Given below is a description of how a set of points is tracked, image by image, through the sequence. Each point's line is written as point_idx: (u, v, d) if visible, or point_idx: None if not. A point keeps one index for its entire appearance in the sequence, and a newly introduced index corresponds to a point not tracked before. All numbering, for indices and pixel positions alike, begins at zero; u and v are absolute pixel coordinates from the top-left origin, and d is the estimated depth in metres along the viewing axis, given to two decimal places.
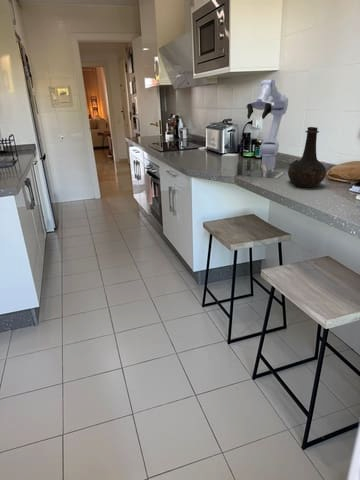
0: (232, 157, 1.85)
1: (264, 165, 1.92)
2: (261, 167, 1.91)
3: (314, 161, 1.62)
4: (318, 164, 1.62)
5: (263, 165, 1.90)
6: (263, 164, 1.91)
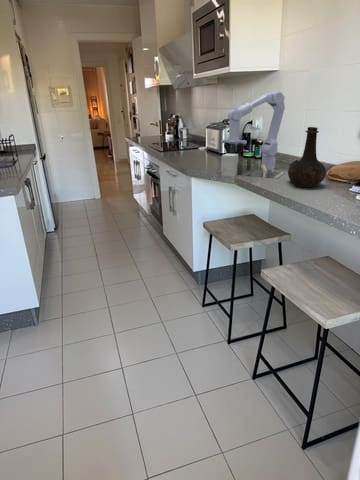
0: (232, 157, 1.85)
1: (264, 165, 1.92)
2: (261, 167, 1.91)
3: (314, 161, 1.62)
4: (318, 164, 1.62)
5: (263, 165, 1.90)
6: (263, 164, 1.91)
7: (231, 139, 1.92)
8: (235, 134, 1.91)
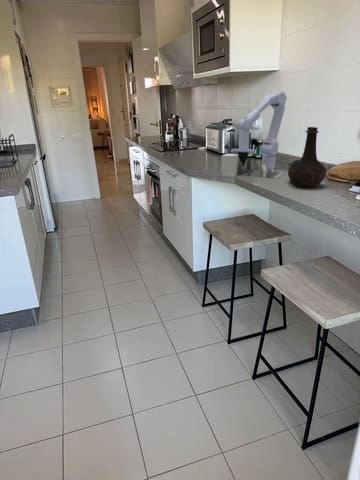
0: (232, 157, 1.85)
1: (264, 165, 1.92)
2: (261, 167, 1.91)
3: (314, 161, 1.62)
4: (318, 164, 1.62)
5: (263, 165, 1.90)
6: (263, 164, 1.91)
7: (241, 148, 1.91)
8: (245, 143, 1.90)
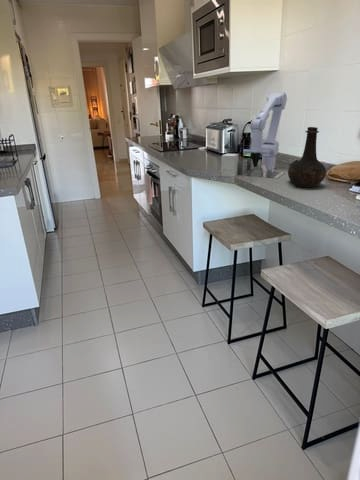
0: (232, 157, 1.85)
1: (264, 165, 1.92)
2: (261, 167, 1.91)
3: (314, 161, 1.62)
4: (318, 164, 1.62)
5: (263, 165, 1.90)
6: (263, 164, 1.91)
7: (253, 149, 1.88)
8: (258, 144, 1.86)
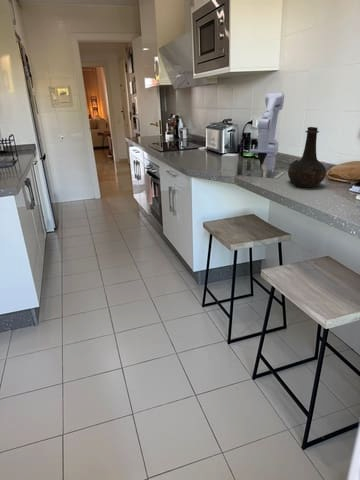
0: (232, 157, 1.85)
1: (265, 165, 1.91)
2: (262, 167, 1.90)
3: (314, 161, 1.62)
4: (318, 164, 1.62)
5: (264, 165, 1.90)
6: (264, 164, 1.90)
7: (260, 149, 1.86)
8: (265, 144, 1.84)
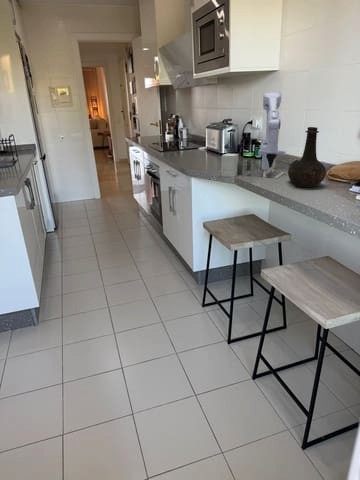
0: (232, 157, 1.85)
1: None
2: (270, 168, 1.88)
3: (314, 161, 1.62)
4: (318, 164, 1.62)
5: (272, 168, 1.88)
6: (273, 167, 1.88)
7: (269, 150, 1.84)
8: (274, 145, 1.82)
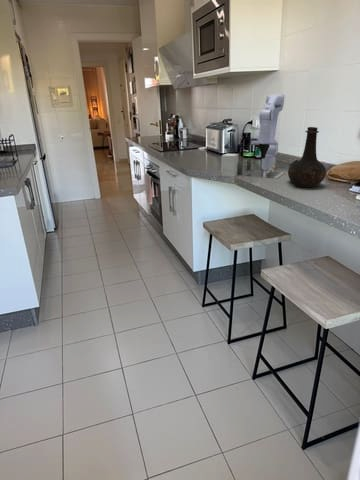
0: (232, 157, 1.85)
1: None
2: (270, 168, 1.88)
3: (314, 161, 1.62)
4: (318, 164, 1.62)
5: (272, 168, 1.88)
6: (273, 167, 1.88)
7: (262, 140, 1.84)
8: (266, 135, 1.83)
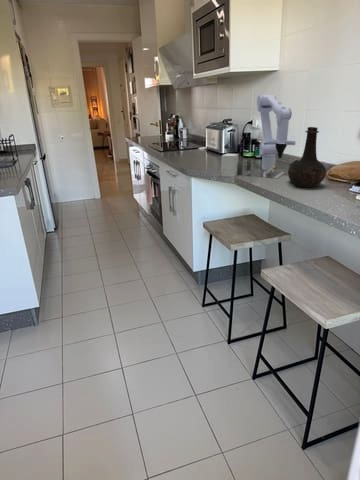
0: (232, 157, 1.85)
1: None
2: (270, 168, 1.88)
3: (314, 161, 1.62)
4: (318, 164, 1.62)
5: (272, 168, 1.88)
6: (273, 167, 1.88)
7: (279, 140, 1.83)
8: (284, 134, 1.82)
